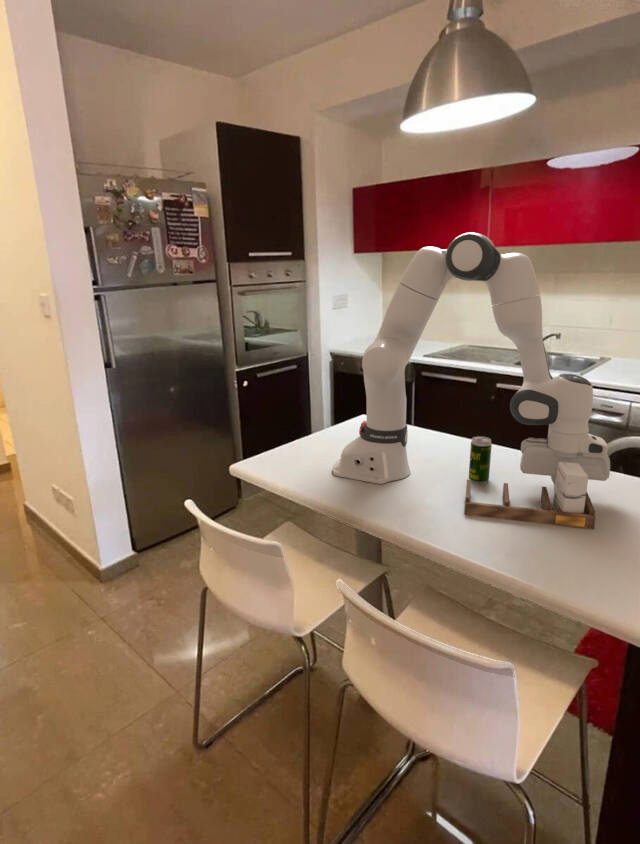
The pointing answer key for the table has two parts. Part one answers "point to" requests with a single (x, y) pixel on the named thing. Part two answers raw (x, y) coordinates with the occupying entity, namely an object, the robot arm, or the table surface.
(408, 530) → the table surface
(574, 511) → the ink box
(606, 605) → the table surface
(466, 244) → the robot arm
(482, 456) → the beer can
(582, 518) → the rack
